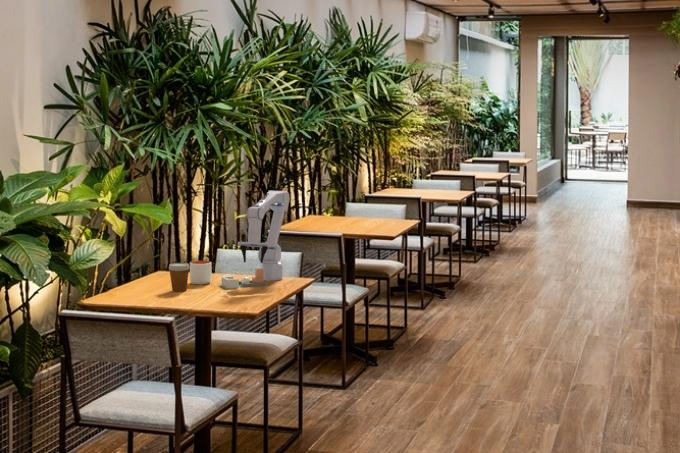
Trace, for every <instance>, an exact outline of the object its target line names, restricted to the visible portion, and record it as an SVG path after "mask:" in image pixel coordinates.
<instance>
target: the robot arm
mask: <svg viewBox="0 0 680 453" xmlns="http://www.w3.org/2000/svg"><path fill="white" fill-rule="evenodd" d="M290 199H291V198H290V193H289V192H288V191H287V190H268V192H266V197H265V198H264V199H260V200H259V201H258V202H256V204H255V205H254V206H250V207H248V208H247V210H246V211H247V212H246V217H247V223H248V230H247V231H248V233H247V241H238V242H237V247H239V248H240V250H241V253H242V259H243V263H246V262H247V256H246V255H247V247H250V248H251V247H252V248H257V247H258V248H259V250H258V252H257V258H258V260H259V262H260V264H261V268H262V269H264V281H276V280H277V281H279V280H283V264H282V263H281V262H280V260H281V258H282V248H281V246H280V245H279V244H278V242H279V237H280V232H281V228H282V225H283V221H284V215H285V212H286V211H287V210H288V208H289V203H290ZM268 210H272V211H273V214H272V217H271V223H270V226H269V232H268V234H267V240H266V241H265V242H261V237H262V236H261V235H262V234H261V233H262V220H263V219H264V217H265V215H266V213H267V212H268Z"/></svg>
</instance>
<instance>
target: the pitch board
mask: <svg viewBox="0 0 680 453" xmlns="http://www.w3.org/2000/svg"><path fill="white" fill-rule="evenodd" d="M217 285H218V286H220V287H221V288H223V289H225V290H231V289H232V290H233V289H245V288H258V287H269V285H268V284H267V281H264V282H259V283H252V279H251V280H250V283H244V284H242V283H241V280H239V278H234V275H227V276H224V275H223V276H221V283H217Z"/></svg>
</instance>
